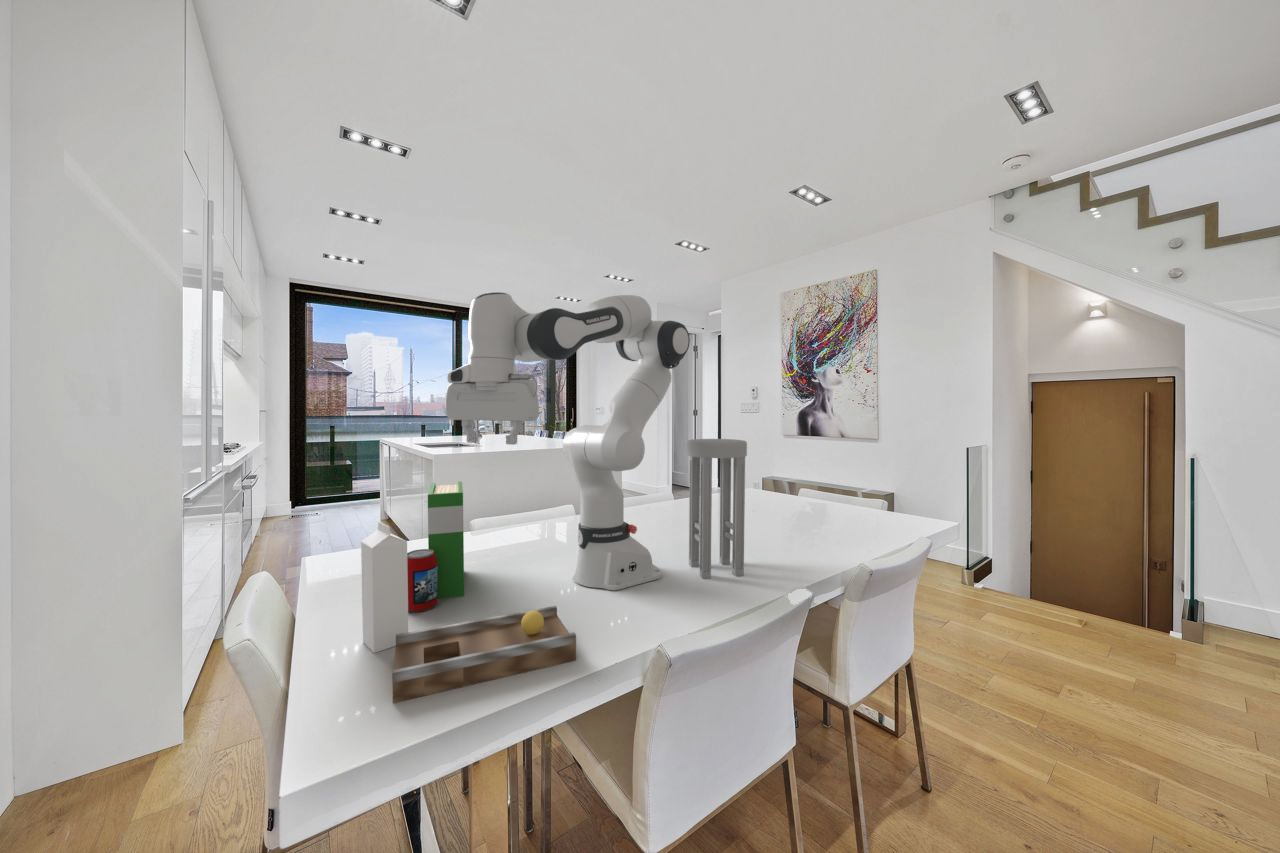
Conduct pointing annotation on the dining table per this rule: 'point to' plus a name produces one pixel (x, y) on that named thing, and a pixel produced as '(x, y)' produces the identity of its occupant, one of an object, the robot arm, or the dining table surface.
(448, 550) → the hardback book
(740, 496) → the stool
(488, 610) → the dining table surface
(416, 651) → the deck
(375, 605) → the milk
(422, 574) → the beverage can
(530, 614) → the ball
